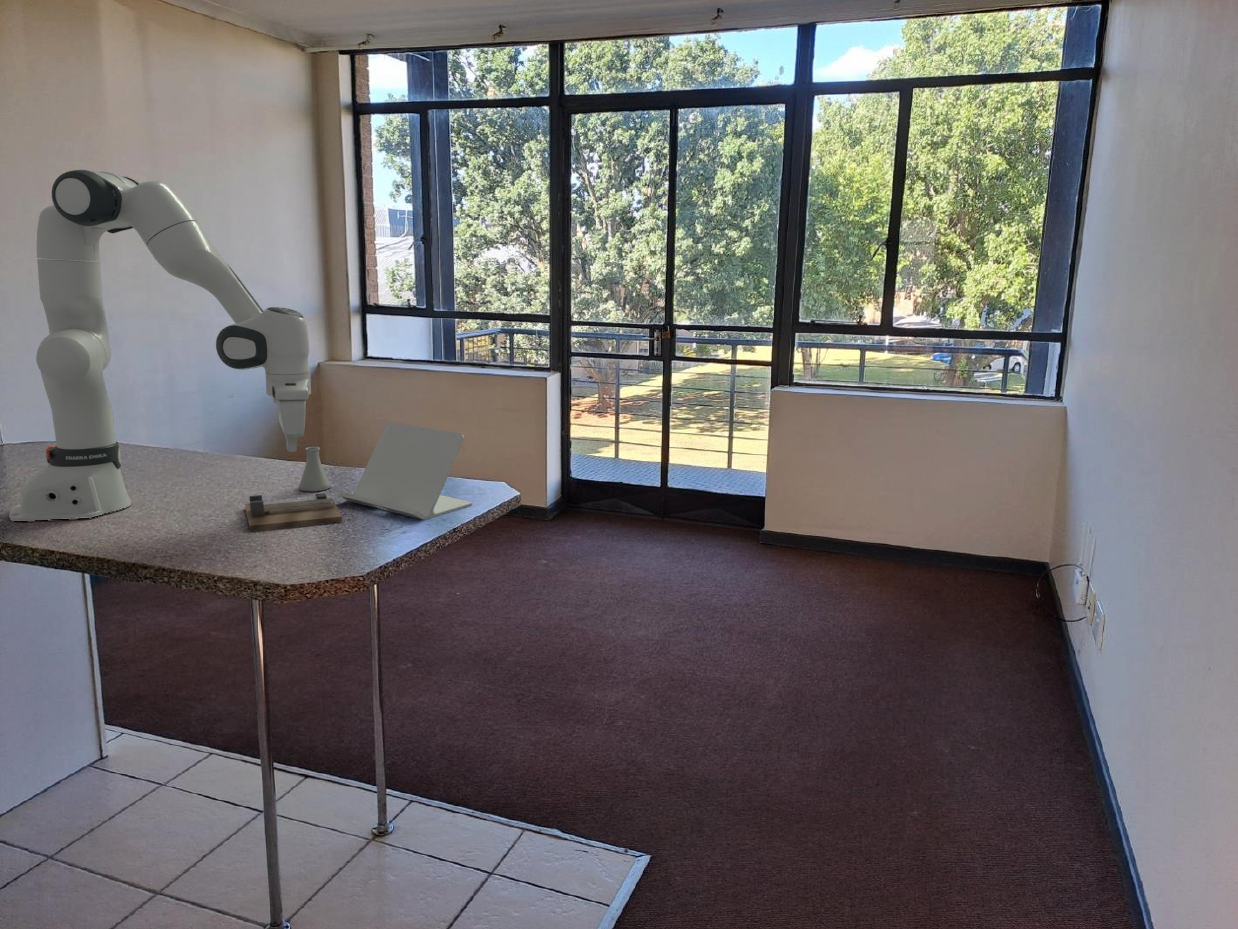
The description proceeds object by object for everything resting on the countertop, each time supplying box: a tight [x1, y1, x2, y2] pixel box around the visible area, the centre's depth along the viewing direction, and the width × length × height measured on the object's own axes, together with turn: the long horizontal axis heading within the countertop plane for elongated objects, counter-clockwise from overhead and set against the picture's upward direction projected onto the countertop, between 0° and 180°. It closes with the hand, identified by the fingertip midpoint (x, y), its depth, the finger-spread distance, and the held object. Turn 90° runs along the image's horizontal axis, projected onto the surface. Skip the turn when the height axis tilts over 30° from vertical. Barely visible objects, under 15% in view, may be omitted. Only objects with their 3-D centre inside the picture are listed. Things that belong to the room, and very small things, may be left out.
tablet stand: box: [337, 421, 473, 521], centre depth 197 cm, size 18×25×17 cm
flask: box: [298, 446, 332, 493], centre depth 210 cm, size 7×7×10 cm
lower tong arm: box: [249, 494, 333, 517], centre depth 188 cm, size 16×6×3 cm, turn 115°
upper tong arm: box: [252, 492, 333, 509], centre depth 188 cm, size 16×4×2 cm, turn 115°
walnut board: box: [244, 496, 343, 532], centre depth 189 cm, size 18×18×1 cm
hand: (291, 450), depth 187 cm, fingers closed
